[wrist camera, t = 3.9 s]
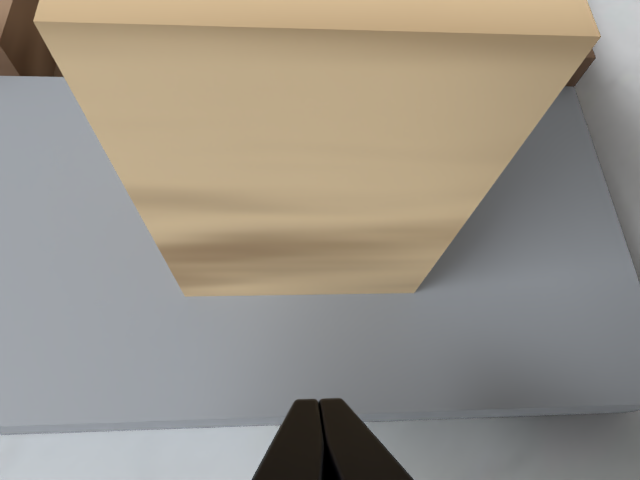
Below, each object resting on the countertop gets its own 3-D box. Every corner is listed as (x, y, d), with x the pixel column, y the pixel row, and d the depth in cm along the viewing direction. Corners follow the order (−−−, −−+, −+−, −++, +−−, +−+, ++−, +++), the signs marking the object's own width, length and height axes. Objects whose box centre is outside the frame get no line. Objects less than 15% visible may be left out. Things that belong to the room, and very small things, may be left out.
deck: (626, 412, 17) (679, 402, 14) (-62, 437, 15) (-123, 430, 13) (543, 126, 22) (573, 86, 20) (23, 120, 20) (-9, 75, 18)
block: (414, 293, 15) (600, 36, 6) (185, 296, 15) (32, 21, 6) (391, 113, 18) (497, -235, 9) (200, 111, 18) (115, -261, 9)
